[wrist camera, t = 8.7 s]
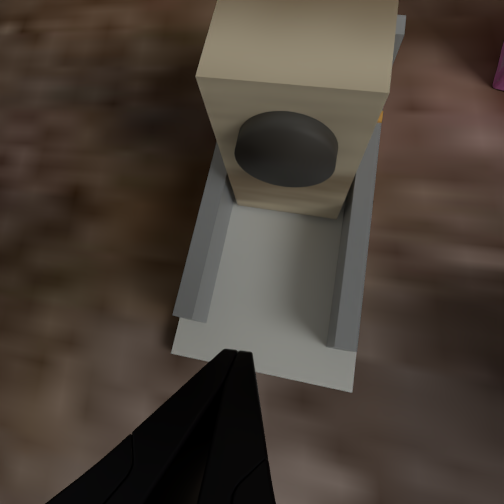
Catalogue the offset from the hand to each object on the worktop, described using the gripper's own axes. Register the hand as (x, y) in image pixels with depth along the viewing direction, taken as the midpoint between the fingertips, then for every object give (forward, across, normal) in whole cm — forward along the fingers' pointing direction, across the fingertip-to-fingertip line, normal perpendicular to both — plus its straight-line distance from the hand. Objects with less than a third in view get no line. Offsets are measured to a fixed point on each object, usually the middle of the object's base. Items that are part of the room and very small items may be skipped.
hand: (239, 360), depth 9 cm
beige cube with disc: (+13, 0, -2) cm, 13 cm away
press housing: (+12, 0, +1) cm, 13 cm away
